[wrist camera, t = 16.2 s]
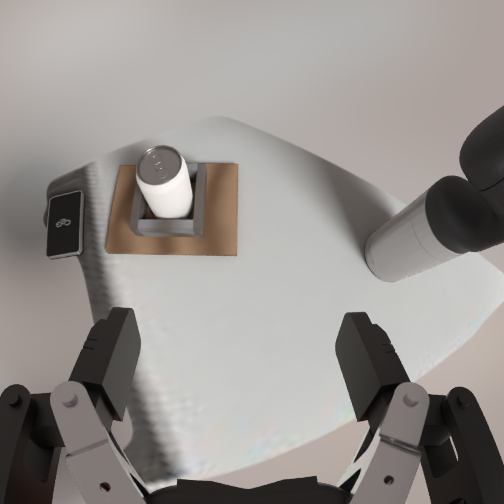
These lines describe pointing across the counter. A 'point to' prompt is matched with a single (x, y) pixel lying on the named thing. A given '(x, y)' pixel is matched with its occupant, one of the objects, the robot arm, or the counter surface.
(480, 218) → the robot arm
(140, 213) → the socket board
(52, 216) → the external hard drive
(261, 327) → the counter surface
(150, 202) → the can
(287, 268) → the counter surface
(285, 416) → the counter surface
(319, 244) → the counter surface
